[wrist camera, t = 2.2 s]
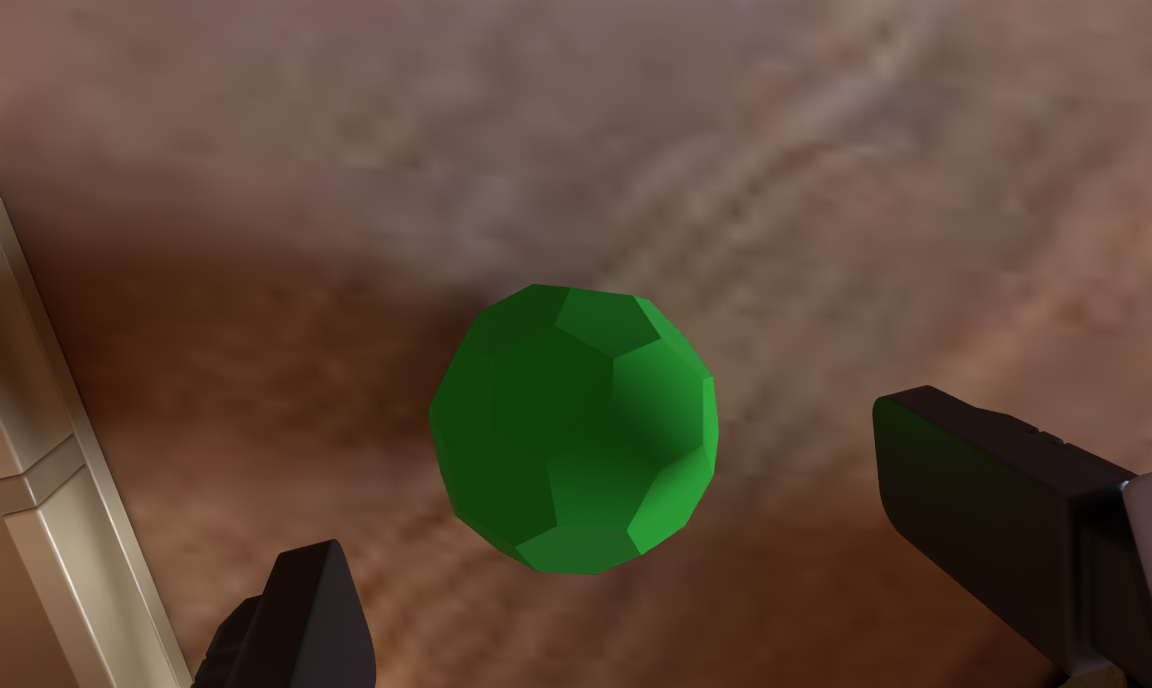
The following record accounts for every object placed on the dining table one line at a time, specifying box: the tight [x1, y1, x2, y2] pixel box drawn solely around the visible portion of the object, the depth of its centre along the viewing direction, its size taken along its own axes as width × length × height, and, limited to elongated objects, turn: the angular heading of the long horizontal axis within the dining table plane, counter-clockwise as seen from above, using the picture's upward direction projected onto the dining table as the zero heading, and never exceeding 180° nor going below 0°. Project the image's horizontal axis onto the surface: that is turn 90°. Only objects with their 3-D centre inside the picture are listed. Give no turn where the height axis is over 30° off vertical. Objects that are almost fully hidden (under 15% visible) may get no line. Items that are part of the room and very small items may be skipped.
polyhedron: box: [428, 284, 719, 575], centre depth 13 cm, size 5×5×5 cm
